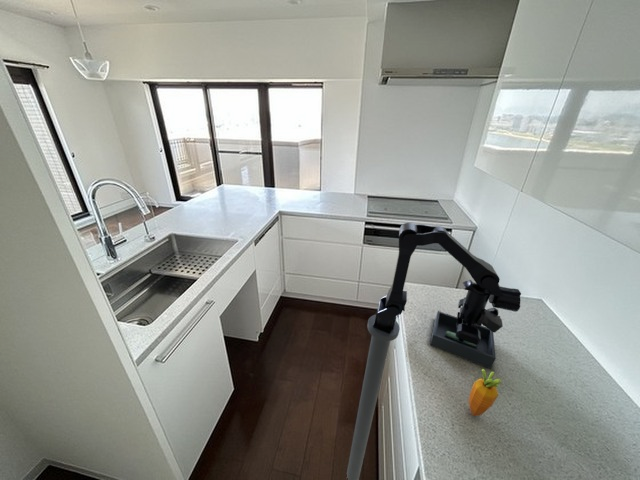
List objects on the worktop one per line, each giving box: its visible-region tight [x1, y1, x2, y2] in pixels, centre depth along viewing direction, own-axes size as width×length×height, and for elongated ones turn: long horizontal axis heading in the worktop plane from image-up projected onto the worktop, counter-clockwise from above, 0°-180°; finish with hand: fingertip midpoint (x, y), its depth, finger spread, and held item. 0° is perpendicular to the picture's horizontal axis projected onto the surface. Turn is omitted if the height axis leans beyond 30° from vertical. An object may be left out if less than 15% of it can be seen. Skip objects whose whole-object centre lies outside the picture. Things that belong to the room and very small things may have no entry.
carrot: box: [468, 368, 502, 417], centre depth 62 cm, size 5×5×15 cm
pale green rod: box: [445, 331, 478, 347], centre depth 86 cm, size 10×2×2 cm, turn 61°
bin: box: [429, 310, 497, 370], centre depth 86 cm, size 18×14×5 cm
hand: (461, 338), depth 86 cm, fingers closed on pale green rod, 2 cm apart
